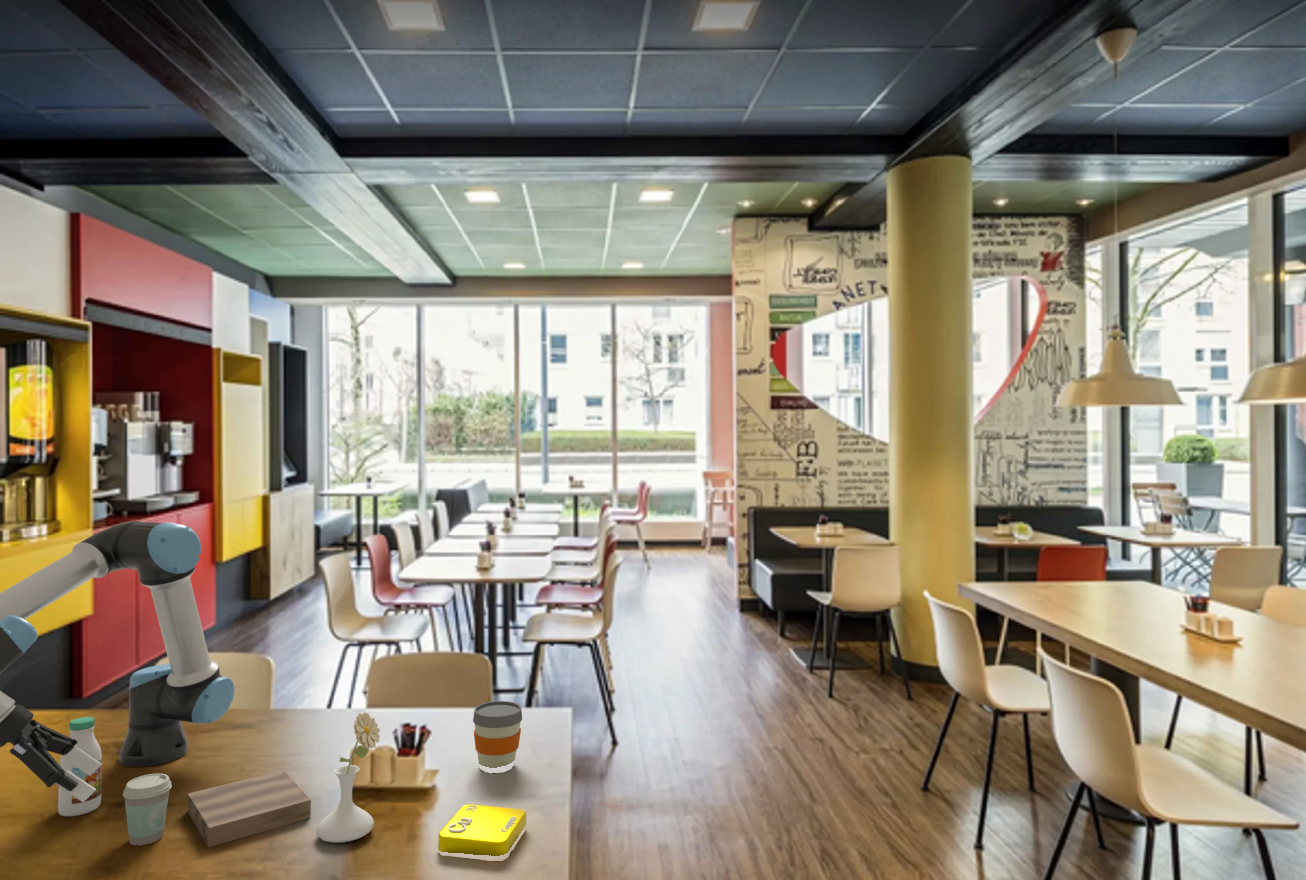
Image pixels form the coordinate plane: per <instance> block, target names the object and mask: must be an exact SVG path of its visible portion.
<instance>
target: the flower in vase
mask: <svg viewBox="0 0 1306 880" xmlns="http://www.w3.org/2000/svg"><path fill="white" fill-rule="evenodd" d="M353 723H354V725H353V729H354V734H355V736H356V737H355V740H356V742H355V745H354V749H353V751H352V755H351V758H344V757H340V759H339V762H340V763H348V764H347V765H342V766H339V767H337V768H336V769H335V770H334V774H335V775H336V777H337V778H338V780H339V785H340V787H339V788H340V801H339V803H338V806H337V807H336V808H335V809H334V810H332V811H331V812H330V813H329V814H328V815H326V816H325V817H324V818H323V819H322V820H321V821H320V823H318V826H317V828H316V835H317V836H318V838H319V839H321V840H322V841H325V842H328V843H339V844H340V843H347V842H352V841H354V840H358V839H360V838H362V837H364V836H366V835H367V834H369V833H370V832H371V830H372V829H373V827H374V824H375V821H374V819H373V816H372V815H371V814H370V813H368V812H367V811H366V810H364V809H362V808H361V807H359V806H357V805H356V804H355V803H354V802H353V801H354V800H353V787H354V786H353V785H354V781H355V777H356V776H357V774H358V772H359V771H360V769H361V768H360V767H359V766H358V765H355V764H352V762H353V758H354V755H356V756H357V757H358V758H361V759H363V758H364V757H366V756H367V754H368V753H369V749H375V748H376V743H379V742H380V737H381V736H380V734H379V733H380V732H381V729H380V728H379V727H378V726H379V725H378V723H376V720H375V718H374V717H371V716H370V714H369V712H365V711H364V712H363V713H361V712H359V713H358V715H357V716H356V719H355V720H354V722H353ZM358 744H360V745H358Z"/></svg>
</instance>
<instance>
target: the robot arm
mask: <svg viewBox="0 0 1306 880" xmlns="http://www.w3.org/2000/svg"><path fill="white" fill-rule="evenodd" d="M201 554H202V544H201V540H200V537H199V536H198V534H197V533H196V532H195V530H193V529H192V528H191V527H189V526H187V525H184V524H181V523H179V524H178V523H176V522H169V521H168V522H154V521H153V522H151V521H142V520H141V521H140V520H131V521H124V522H120V523H117V524H114V525H112V526H109V527H107V528H105V529H103V530H101V531H99V532H96V533H95V534H93V535H91V536H88V537H86V538H85V539H83V540H82V541H80V542H78V543H76V544H75V545H74V546H73V547H72V550H71V552H69V553H67V554H66V555H63V556H62V557H60V558H59V559H56V560H55V561H54V562H52V563H50V564H49V565H47V566H45V567H44V568H42V569H40V570H37V571H36V572H34V573H33V574H31V575H29V576H27V577H26V578H24V579H22V580H20V581H19V582H16V584H14V585H11V586H10V587H8V588H6V589H4V590H3V591H1V592H0V675H1V674H2V673H3V672H4V671H5V670H7V669H8V668H9V667H10V666H11V665H12V664H14V663H15V662H16V661H17V660H18V659H19V658H20V657H21V656H22V655H25V653H27V651H28V649H29V648H30V647H31V646H33V644H34V643H35V642H36V641H38V640H37V639H38V635H39V634H38V631H37V629H36V628H35V626H33V624H32V623H30V622H29V621H28V620H26V619H28V618H29V617H31V616H33V615H34V614H37V612H39V611H41V610H43V609H44V608H46V607H47V606H49V605H52V603H54V602H56V601H57V600H59V599H61V598H63V597H64V596H66V595H67V594H69V593H71V592H72V591H73V590H75V589H77V588H78V587H80V586H82V585H83V584H85V583H87V582H88V581H90V580H92V579H93V578H95V579H101V578H102V577H105V576H107V575H108V574H110V573H112V572H116V571H119V570H127V569H129V570H137V574H138V579H139V581H140V584H141V585H142V586H144V587H146V588H149V589H150V593H151V594H150V595H151V598H152V600H153V601H152V602H153V605H154V608H155V614H156V616H157V617H156V618H157V620H158V625H159V627H160V628H159V629H160V631H161V632H160V633H161V637H162V639H163V644H164V648H165V651H166V654H167V658H168V662H169V663H164V664H158V665H153V666H148V667H145V668H142V669H139V670H137V671H135V672H133V673H132V674H131V676H130V679H129V687H128V727H127V728H128V730H127V732H126V735H125V738H124V740H123V743H122V745H121V748H120V751H119V759H118V760H119V761H118V762H119V763H120V764H121V765H123V766H124V767H134V768H135V767H137V768H140V767H150V766H156V765H157V766H158V765H161V764H165V763H170V762H172V761H175V760H177V759H179V758H181V757H184V756H185V755H186V754H187V752H188V751H189V740H188V738H187V737H188V736H187V735H186V732H185V729H184V728H183V725H182V722H188V723H194V724H197V725H198V724H199V725H200V724H212V723H214V722H217V721H218V720H219V719H221V718H222V717H223V716H224V715H225V714H226V713H227V711H228V710H229V709H230V707H231V704H232V703H233V700H234V697H235V690H236V689H235V683H234V681H233V680H232V679H231V678H229V677H228V676H226V675H225V676H222V675H221V670H220V668H219V667H220V666H219V664H218V662H217V661H215V660H213V659H210V658H211V657H210V654H209V650H208V646H207V643H206V638H205V633H204V630H203V626H202V621H201V617H200V613H199V610H198V606H197V602H196V596H195V593H194V589H193V584H192V580H191V577H192V575H194V573H195V571H196V566H197V564H198V563H199V560H200V557H199V556H201ZM15 703H16V701H15V700H14V699H13V698H11V696H8V695H7V694H5V693H4V692H3V691H1V690H0V748H2V747H4V746H5V745H7V744H9V743H10V744H11V745H12V746H13V747H12V748H10V749H9V752H10V754H12V755H13V756H15V757H16V758H17V759H18V760H20V762H22V763H23V764H24V765H25V766H26V767H27V768H28V769H29V770H30V771H31V772H32V773H33V774H34V775H35V776H36V777H38V778H39V779H40V780H41V781H42V782H43V783H44V785H45V786H46V787H48V788H51V787H52V786H53V785H55V786H57V787H58V788H59V787H60V788H62V789H63V790H65V791H66V792H68V793H69V794H71V795H73V796H74V797H76V798H77V799H79V800H80V801H82V802H84V801H85V800H86V799H87V798H88V797H89V796H90V795H91V794H92V793H94V792H95V791H96V789H95V788H94V787H92V786H91V785H89V784H88V783H86V782H85V781H83V780H82V779H80V778H79V777H77V776H76V775H74V774H73V773H71V772H70V771H68V770H67V771H66V772H65V771H64V770H63V769H62V767H61V766H60V763H58V761H57V760H56V759H55V758H54V756H52V754H51V753H55V754H58V755H65V754H66V755H65V756H64V757H63V758H64V759H65V760H67V761H68V762H70V763H71V764H73V765H74V766H76V767H77V768H79V769H80V770H82V771H83V772H85V773H86V774H88V775H89V776H91V775H92V774H93V773H94V772H95V771H96V770H97V769H98V768H99V767H100V766H101V765H102V766H103V763H102V764H101V763H100V762H98V761H97V760H95V759H94V758H92V757H91V756H90V755H88V754H87V753H85V752H84V751H82V750H81V749H79V748H78V747H76V746H75V745H76V744H77V743H78V741H77V740H75V739H73V740H72V738H70V736H67V735H66V734H63V733H61V732H58V731H56V730H54V729H52V728H51V727H48V726H46V725H44V724H42V723H40V722H38V721H37V720H36V719H33V718H34V713H33V712H31V711H30V710H29V709H27V708H25V706H23V705H21V704H16V705H15ZM74 746H75V747H74ZM50 752H51V753H50Z"/></svg>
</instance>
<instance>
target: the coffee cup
mask: <svg viewBox="0 0 1306 880" xmlns="http://www.w3.org/2000/svg"><path fill="white" fill-rule="evenodd" d="M172 787H173V785H172V781H171V780H170V777H169V775H167V774H165V773H150V774H143V775H140V776H138V777H134V778H133V779H130V780H129V781H128V782H127V783H126V784H125V788H124V789H123V793H122V797H123V798H124V805H125V814H126V822H127V833H128V843H129V844H130V845H131V846H136V845H138V846H140V847H141V846H146V845H151V844H152V843H153V844H154V843H155V842H157V841H159V840H160V839H161V838H162V837H163V836H164V835H163V834H164V829H165V823H166V817H167V808H168V802H169V798H170V797H169V796H170V790H171V788H172Z"/></svg>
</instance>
